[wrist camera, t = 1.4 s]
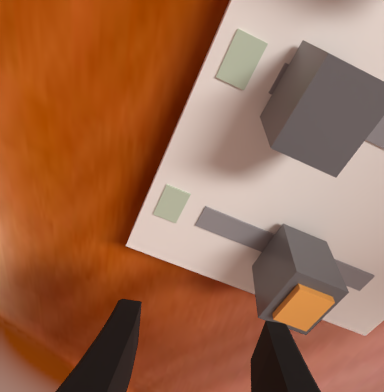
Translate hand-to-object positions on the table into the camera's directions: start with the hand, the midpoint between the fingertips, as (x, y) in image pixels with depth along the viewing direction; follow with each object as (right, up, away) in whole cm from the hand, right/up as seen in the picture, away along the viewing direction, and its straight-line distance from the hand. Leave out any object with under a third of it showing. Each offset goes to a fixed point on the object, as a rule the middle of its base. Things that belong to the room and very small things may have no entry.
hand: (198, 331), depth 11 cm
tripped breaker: (+5, +1, +6) cm, 8 cm away
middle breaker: (+4, +8, +2) cm, 9 cm away
